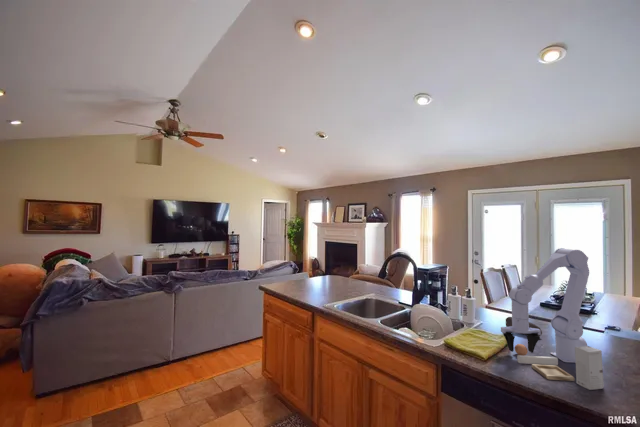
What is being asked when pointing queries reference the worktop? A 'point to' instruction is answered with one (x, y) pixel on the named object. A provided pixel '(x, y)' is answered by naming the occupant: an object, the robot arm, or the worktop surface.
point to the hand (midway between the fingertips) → (520, 351)
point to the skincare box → (589, 367)
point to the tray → (553, 372)
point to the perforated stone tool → (531, 325)
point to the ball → (521, 349)
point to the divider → (537, 360)
